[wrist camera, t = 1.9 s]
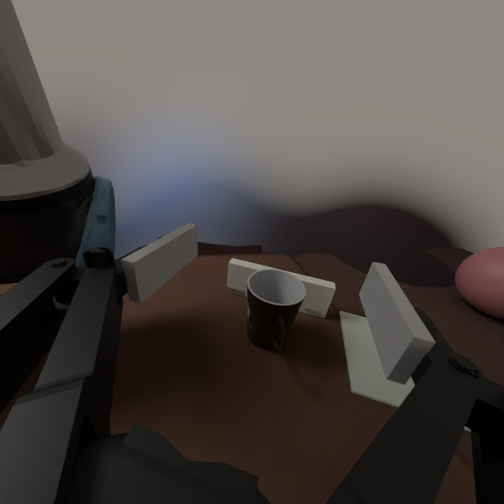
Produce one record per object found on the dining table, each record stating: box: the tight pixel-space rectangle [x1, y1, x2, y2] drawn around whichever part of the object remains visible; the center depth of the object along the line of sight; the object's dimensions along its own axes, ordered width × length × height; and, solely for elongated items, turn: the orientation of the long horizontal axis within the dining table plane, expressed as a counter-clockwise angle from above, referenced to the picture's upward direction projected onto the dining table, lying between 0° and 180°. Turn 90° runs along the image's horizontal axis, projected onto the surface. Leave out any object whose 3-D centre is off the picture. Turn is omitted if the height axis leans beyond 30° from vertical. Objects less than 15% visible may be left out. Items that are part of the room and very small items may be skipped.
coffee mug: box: [247, 269, 306, 351], centre depth 31 cm, size 12×9×10 cm
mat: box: [339, 311, 471, 432], centre depth 33 cm, size 16×16×1 cm
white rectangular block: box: [227, 258, 335, 318], centre depth 42 cm, size 20×4×7 cm, turn 74°
